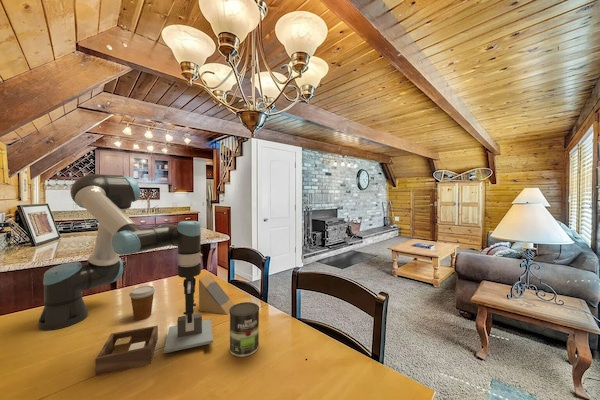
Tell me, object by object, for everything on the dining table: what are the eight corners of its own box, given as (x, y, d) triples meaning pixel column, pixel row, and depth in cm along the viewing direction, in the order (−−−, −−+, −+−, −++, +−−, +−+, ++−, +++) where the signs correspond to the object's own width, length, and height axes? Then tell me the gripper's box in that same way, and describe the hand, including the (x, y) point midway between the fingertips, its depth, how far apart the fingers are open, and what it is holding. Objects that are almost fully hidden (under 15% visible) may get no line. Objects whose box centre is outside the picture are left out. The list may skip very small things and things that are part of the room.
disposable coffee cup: (124, 319, 105) (124, 291, 105) (145, 309, 114) (145, 284, 114) (139, 324, 102) (139, 295, 102) (160, 313, 111) (160, 287, 110)
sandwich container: (227, 315, 110) (227, 282, 109) (198, 310, 114) (198, 278, 113) (237, 306, 118) (237, 276, 118) (210, 302, 122) (209, 273, 122)
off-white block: (131, 355, 81) (131, 343, 81) (145, 352, 82) (145, 341, 82) (128, 363, 77) (128, 351, 77) (143, 360, 79) (143, 348, 78)
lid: (169, 329, 94) (169, 311, 94) (211, 321, 99) (211, 304, 99) (163, 353, 80) (163, 332, 80) (212, 342, 85) (212, 323, 85)
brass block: (118, 350, 84) (117, 338, 83) (131, 347, 85) (131, 336, 85) (114, 357, 80) (113, 345, 80) (128, 354, 81) (128, 342, 81)
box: (111, 350, 85) (111, 333, 85) (157, 341, 90) (157, 325, 90) (95, 379, 72) (95, 359, 72) (150, 366, 77) (150, 348, 77)
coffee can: (263, 351, 85) (263, 311, 85) (232, 360, 80) (232, 318, 80) (254, 335, 94) (254, 299, 94) (226, 343, 89) (226, 305, 89)
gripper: (200, 269, 83) (201, 337, 84) (200, 257, 98) (201, 315, 98) (175, 271, 80) (176, 342, 81) (179, 259, 95) (180, 319, 96)
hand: (190, 327), depth 90 cm, fingers closed on lid, 3 cm apart
